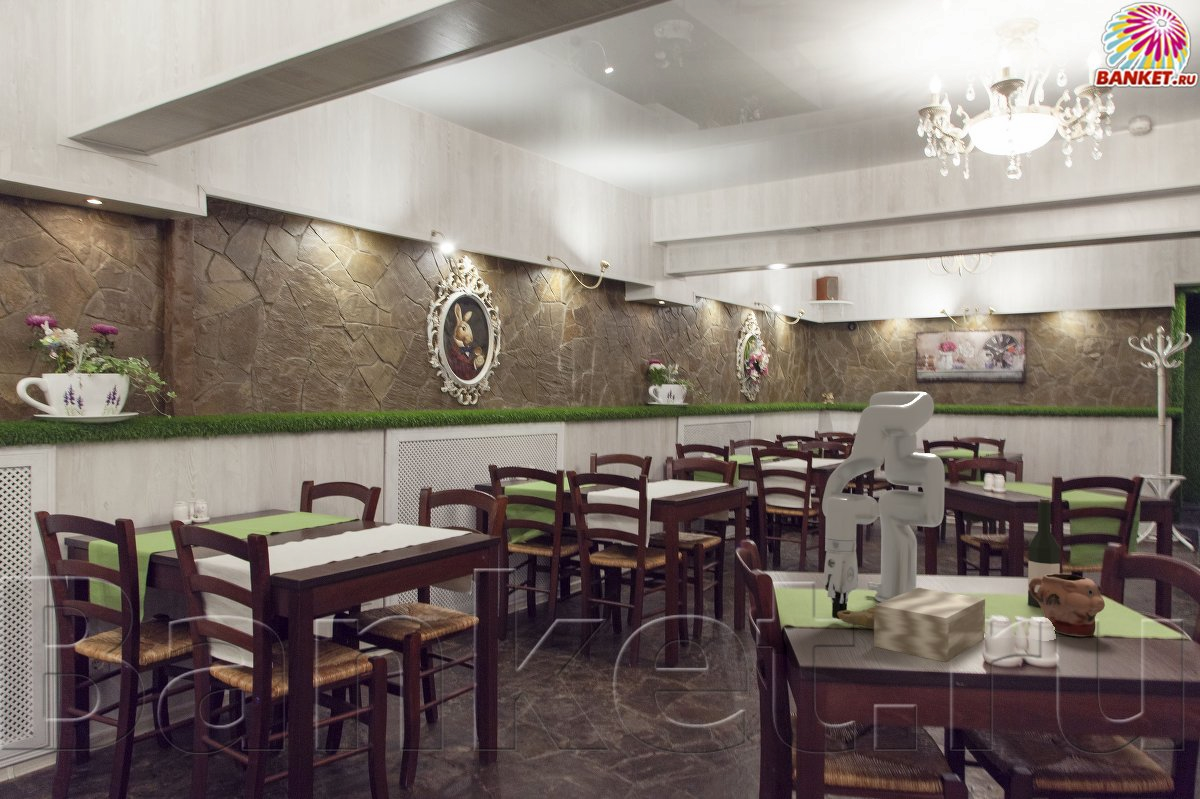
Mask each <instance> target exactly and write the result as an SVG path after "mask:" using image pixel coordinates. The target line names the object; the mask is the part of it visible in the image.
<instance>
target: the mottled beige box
mask: <svg viewBox="0 0 1200 799" xmlns="http://www.w3.org/2000/svg"><path fill="white" fill-rule="evenodd" d="M874 608H875V613H874V630H873V647H874V648H875V647H876V648H880V649H883V650H889V651H894V652H898V653H902V654H907V655H911V656H917V657H921V658H926V659H930V660H934V661H939V662H944V663H947V662H948V661H950V660H952V659H953V658H954V657H955V658H956V656H958V655H959V654H962V653H963V652H965V651H966V650H968V649H970V648H971V647H973V646H974V645H976V644H978V643H980V642H981V641H983V640H984V639H985V638H984V633H985V634H986V632H985V631H986V598H984V597H977V596H970V595H964V594H958V593H954V592H953V593H952V592H948V591H947V592H946V591H940V590H935V589H931V588H930V589H928V588H923V587H916V589H914V590H911V591H908V592H906V593H903V594H901V595H898V596H896V597H893V598H891V599H888V600H886V601H883V602H878V603H876V604H874Z"/></svg>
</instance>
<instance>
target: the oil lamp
mask: <svg viewBox="0 0 1200 799" xmlns="http://www.w3.org/2000/svg"><path fill="white" fill-rule="evenodd" d="M874 613H875V607H870V608H868V609H863V610H859V611H858V610H857V611H853V610H849V609H847V610H845V611H839V612H837V615H838V617H839V618H840V619H839V620H841V621H842V622H843V623H846V624H848V625H852V626H862V627H865V628H869V629H871V630H873V631H874Z"/></svg>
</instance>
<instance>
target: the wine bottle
mask: <svg viewBox="0 0 1200 799" xmlns="http://www.w3.org/2000/svg"><path fill="white" fill-rule="evenodd" d="M1037 502H1038V503H1037V507H1038V508H1037V532H1036V533H1035V535H1034V536H1033V538H1032V539H1030V540H1031V541H1030V542H1029V544H1028V565H1027V567H1028V571H1027V572H1028V574H1027V575H1028V576H1027V577H1028V578H1027V580H1028V581H1027V606H1031V607H1034V608H1038V609H1042V608H1041V606H1040V605H1039V603H1038V601H1037V600H1036V599H1035V598H1033V597H1032V595H1031V593H1030V590H1029V584H1030V582H1031V580H1032V579H1033V578H1037V577H1041V578H1043V576H1044V575H1047V574H1061V573H1060V571H1061V569H1060V568H1061V567H1060V566H1061V565H1060V562H1061V561H1060V560H1061V547H1060V545H1059V543H1058V542H1057V540H1056V538H1055V537H1054V536H1053V534H1052V532H1051V530H1052V529H1051V528H1052V525H1051V524H1052V522H1051V521H1052V520H1051V519H1052V502H1050V498H1049V499H1047V498H1040V499H1039V501H1037ZM1040 586H1041V585H1036V587H1035V594H1036V596H1037V591H1038V589H1039V587H1040Z"/></svg>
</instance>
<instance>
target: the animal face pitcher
mask: <svg viewBox="0 0 1200 799" xmlns="http://www.w3.org/2000/svg"><path fill="white" fill-rule="evenodd" d="M1036 585H1041V586H1040V587H1039V589H1038V591H1037V596H1036V594H1035V587H1036ZM1029 590H1030V593H1031V595H1032V597H1033V598H1035V599H1036V600H1037V601H1038V603H1039V605H1040V606H1041V608H1040V609H1041V610H1042V613H1043V615H1044V618H1045V617H1046V618H1048V619H1049V620H1050V621H1051V622H1052V624H1053V626H1054V627H1055V630H1056V633H1059V634H1064V635H1067V636H1075V637H1088V636H1090V637H1091V636H1093V635H1094V634H1095V632H1096V616H1097V614H1098V613H1100V612H1102V611H1103V610H1104V609H1105V606H1106V605H1105V604H1106V603H1105V599H1104V598H1103V596H1102V595H1101V592H1100V588H1099V587H1098V585H1097V583H1095V582H1094V580H1092V579H1091V578H1088V577H1083V576H1079V575H1076V574H1070V573H1060V574H1047V575H1044V576H1043V578H1041V577H1037V578H1033V579H1032V580H1031V582H1030V584H1029Z"/></svg>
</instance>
